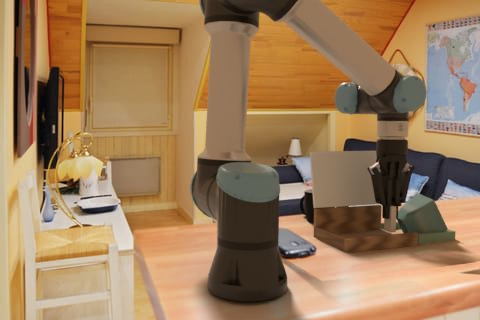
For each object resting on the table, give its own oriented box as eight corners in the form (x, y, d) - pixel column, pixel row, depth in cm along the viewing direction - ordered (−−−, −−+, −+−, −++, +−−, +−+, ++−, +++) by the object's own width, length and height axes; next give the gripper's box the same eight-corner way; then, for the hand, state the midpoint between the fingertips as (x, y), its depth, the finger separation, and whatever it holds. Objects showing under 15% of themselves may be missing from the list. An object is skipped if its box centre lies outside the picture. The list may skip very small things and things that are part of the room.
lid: (311, 151, 119) (309, 151, 119) (315, 208, 117) (313, 208, 118) (376, 150, 126) (374, 151, 126) (380, 204, 124) (378, 204, 125)
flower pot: (417, 247, 115) (449, 230, 115) (402, 217, 114) (434, 199, 114) (402, 237, 124) (432, 221, 124) (388, 209, 122) (418, 193, 123)
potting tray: (418, 244, 112) (418, 234, 112) (380, 232, 125) (380, 223, 125) (455, 241, 116) (455, 231, 116) (414, 229, 129) (415, 220, 129)
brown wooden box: (346, 252, 104) (347, 219, 104) (313, 237, 118) (314, 208, 118) (417, 245, 111) (418, 214, 111) (378, 232, 125) (379, 204, 125)
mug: (341, 226, 133) (342, 191, 132) (321, 230, 127) (322, 194, 126) (310, 219, 142) (310, 187, 141) (289, 223, 136) (290, 189, 135)
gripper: (380, 138, 110) (377, 236, 112) (423, 138, 114) (420, 232, 116) (361, 138, 117) (359, 230, 119) (403, 138, 121) (400, 226, 123)
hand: (389, 231), depth 117 cm, fingers closed
